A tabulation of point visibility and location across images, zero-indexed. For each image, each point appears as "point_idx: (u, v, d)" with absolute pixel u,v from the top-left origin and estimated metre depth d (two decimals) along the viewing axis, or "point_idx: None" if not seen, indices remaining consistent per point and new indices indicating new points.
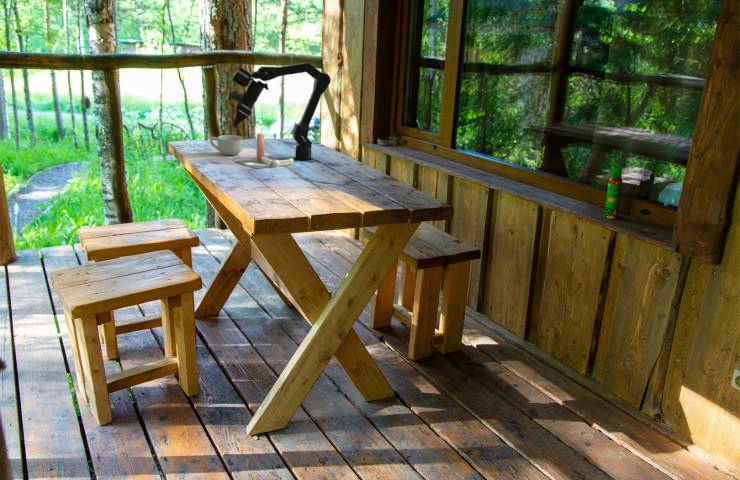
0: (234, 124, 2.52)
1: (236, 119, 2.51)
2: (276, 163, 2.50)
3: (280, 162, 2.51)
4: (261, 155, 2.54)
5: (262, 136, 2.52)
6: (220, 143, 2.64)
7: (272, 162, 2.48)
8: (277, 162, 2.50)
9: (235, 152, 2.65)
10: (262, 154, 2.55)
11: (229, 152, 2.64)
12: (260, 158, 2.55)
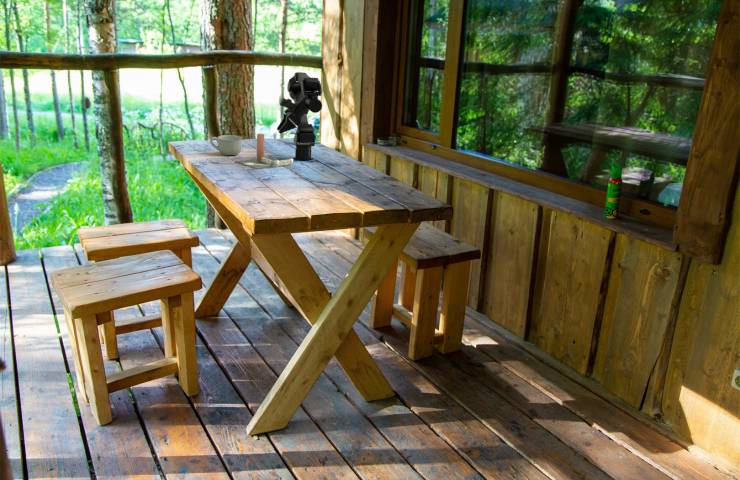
0: (280, 131, 2.50)
1: (284, 127, 2.49)
2: (276, 163, 2.50)
3: (280, 162, 2.51)
4: (261, 155, 2.54)
5: (262, 136, 2.52)
6: (220, 143, 2.64)
7: (272, 162, 2.48)
8: (277, 162, 2.50)
9: (235, 152, 2.65)
10: (262, 154, 2.55)
11: (229, 152, 2.64)
12: (260, 158, 2.55)
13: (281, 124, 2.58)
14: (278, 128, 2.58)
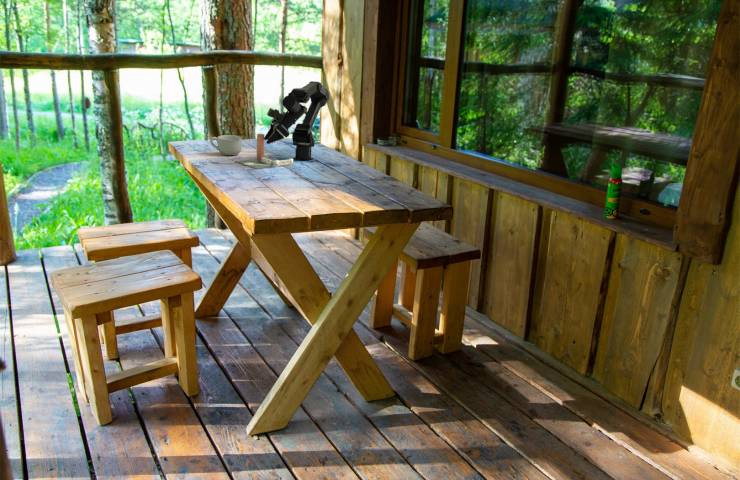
0: (268, 141, 2.50)
1: (271, 137, 2.49)
2: (276, 163, 2.50)
3: (280, 162, 2.51)
4: (261, 155, 2.54)
5: (262, 136, 2.52)
6: (220, 143, 2.64)
7: (272, 162, 2.48)
8: (277, 162, 2.50)
9: (235, 152, 2.65)
10: (262, 154, 2.55)
11: (229, 152, 2.64)
12: (260, 158, 2.55)
13: (268, 134, 2.58)
14: (265, 138, 2.58)
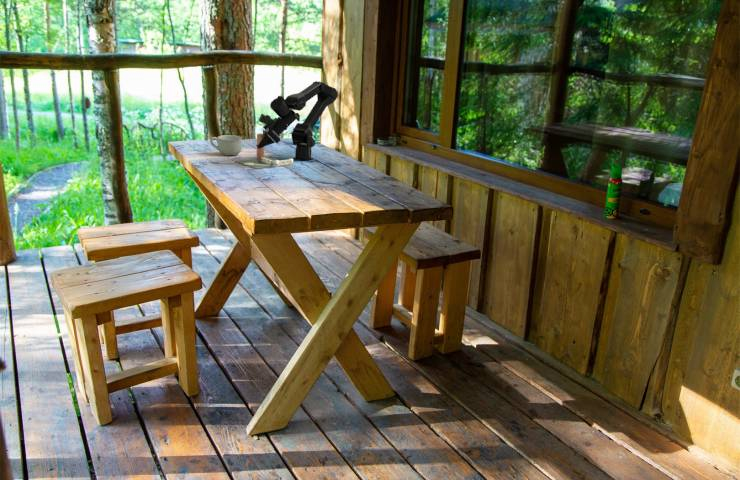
0: (258, 146, 2.52)
1: (262, 142, 2.51)
2: (276, 163, 2.50)
3: (280, 162, 2.51)
4: (261, 155, 2.54)
5: (262, 136, 2.52)
6: (220, 143, 2.64)
7: (272, 162, 2.48)
8: (277, 162, 2.50)
9: (235, 152, 2.65)
10: (262, 154, 2.55)
11: (229, 152, 2.64)
12: (260, 158, 2.55)
13: None
14: None
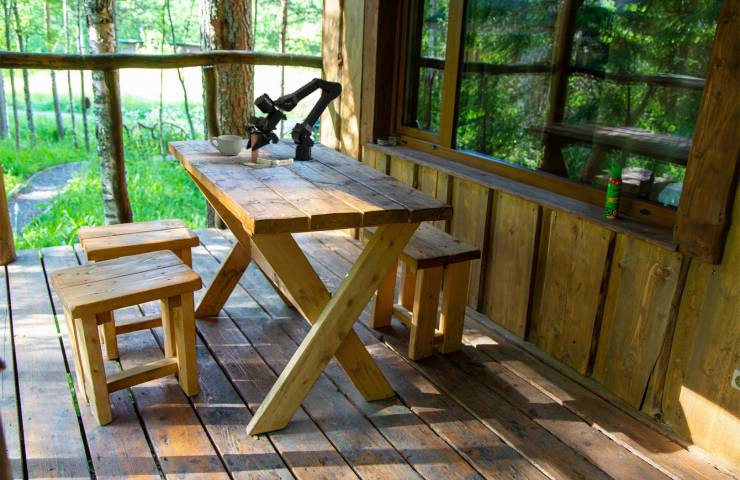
0: (253, 149, 2.49)
1: (257, 144, 2.49)
2: (276, 163, 2.50)
3: (280, 162, 2.51)
4: (256, 156, 2.53)
5: (257, 136, 2.50)
6: (220, 143, 2.64)
7: (273, 162, 2.48)
8: (277, 162, 2.50)
9: (235, 152, 2.65)
10: (257, 155, 2.53)
11: (229, 152, 2.64)
12: (255, 159, 2.53)
13: (250, 143, 2.52)
14: (247, 147, 2.52)
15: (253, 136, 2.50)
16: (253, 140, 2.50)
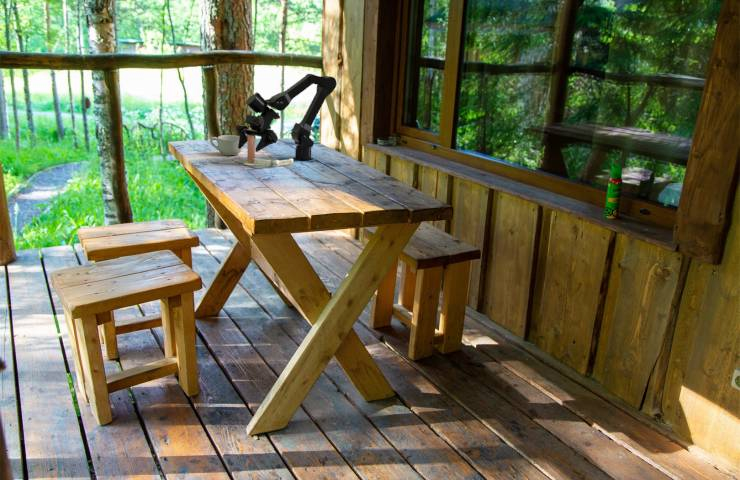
0: (257, 149, 2.45)
1: (261, 144, 2.45)
2: (276, 163, 2.50)
3: (280, 162, 2.51)
4: (253, 156, 2.51)
5: (254, 137, 2.48)
6: (220, 143, 2.64)
7: (273, 162, 2.48)
8: (277, 162, 2.50)
9: (235, 152, 2.65)
10: (254, 155, 2.51)
11: (229, 152, 2.64)
12: (253, 160, 2.51)
13: (241, 142, 2.50)
14: (239, 146, 2.49)
15: (250, 137, 2.47)
16: (250, 141, 2.48)
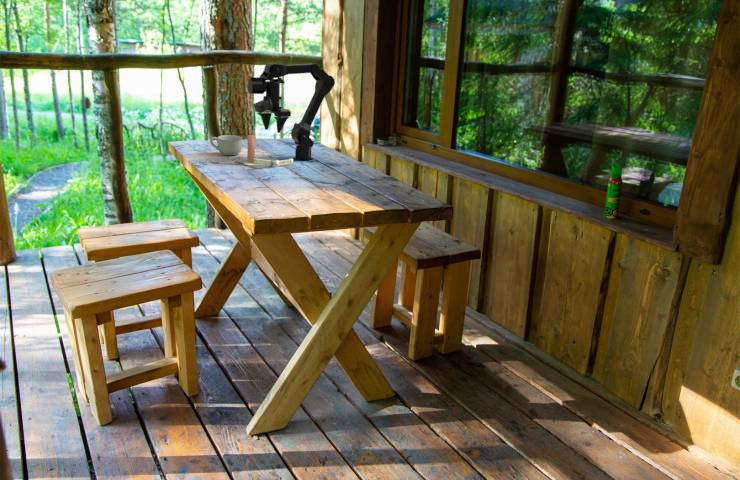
0: (279, 131, 2.54)
1: (279, 125, 2.52)
2: (276, 163, 2.50)
3: (280, 162, 2.51)
4: (253, 156, 2.51)
5: (254, 137, 2.48)
6: (220, 143, 2.64)
7: (273, 162, 2.48)
8: (277, 162, 2.50)
9: (235, 152, 2.65)
10: (254, 155, 2.51)
11: (229, 152, 2.64)
12: (253, 160, 2.51)
13: (265, 123, 2.59)
14: (266, 128, 2.60)
15: (250, 137, 2.47)
16: (250, 141, 2.48)
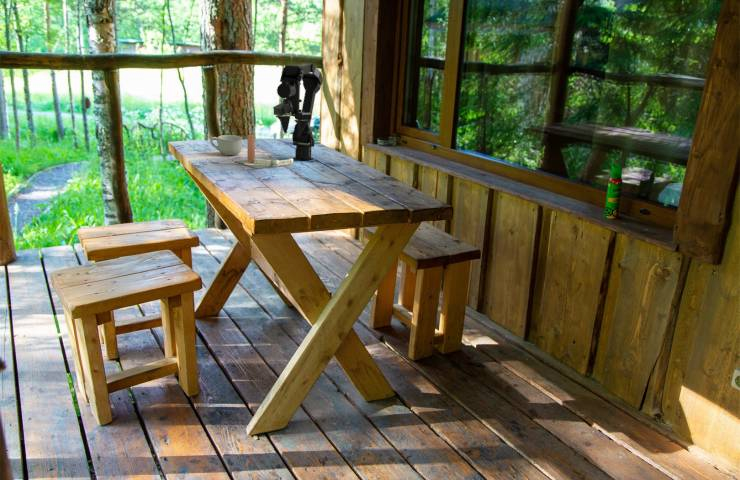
0: (299, 134, 2.47)
1: (299, 129, 2.46)
2: (276, 163, 2.50)
3: (280, 162, 2.51)
4: (253, 156, 2.51)
5: (254, 137, 2.48)
6: (220, 143, 2.64)
7: (273, 162, 2.48)
8: (277, 162, 2.50)
9: (235, 152, 2.65)
10: (254, 155, 2.51)
11: (229, 152, 2.64)
12: (253, 160, 2.51)
13: (284, 126, 2.53)
14: (285, 131, 2.54)
15: (250, 137, 2.47)
16: (250, 141, 2.48)
